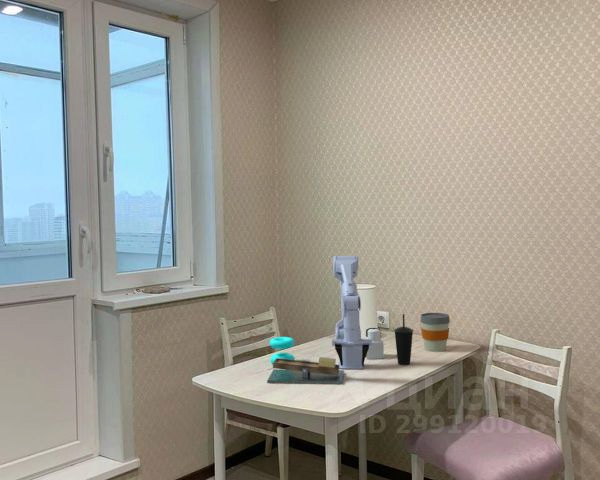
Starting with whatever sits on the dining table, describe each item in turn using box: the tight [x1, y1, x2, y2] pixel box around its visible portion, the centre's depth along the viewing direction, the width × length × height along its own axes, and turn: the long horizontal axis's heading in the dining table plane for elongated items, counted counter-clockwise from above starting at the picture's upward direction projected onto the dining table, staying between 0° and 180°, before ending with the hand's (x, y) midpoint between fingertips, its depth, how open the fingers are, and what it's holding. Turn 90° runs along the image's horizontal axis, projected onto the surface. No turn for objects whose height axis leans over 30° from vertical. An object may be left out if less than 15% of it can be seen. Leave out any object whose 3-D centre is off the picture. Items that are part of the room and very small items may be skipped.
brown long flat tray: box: [272, 358, 340, 375], centre depth 210 cm, size 24×6×2 cm, turn 83°
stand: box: [266, 360, 345, 385], centre depth 210 cm, size 27×14×5 cm, turn 83°
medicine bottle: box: [365, 327, 385, 360], centre depth 238 cm, size 7×7×12 cm
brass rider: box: [318, 356, 337, 369], centre depth 209 cm, size 6×4×3 cm
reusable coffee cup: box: [420, 312, 451, 353], centre depth 248 cm, size 13×13×15 cm
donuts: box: [269, 336, 296, 365], centre depth 231 cm, size 10×10×10 cm
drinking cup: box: [393, 313, 414, 366], centre depth 226 cm, size 8×8×20 cm
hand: (352, 364), depth 208 cm, fingers open, 7 cm apart
